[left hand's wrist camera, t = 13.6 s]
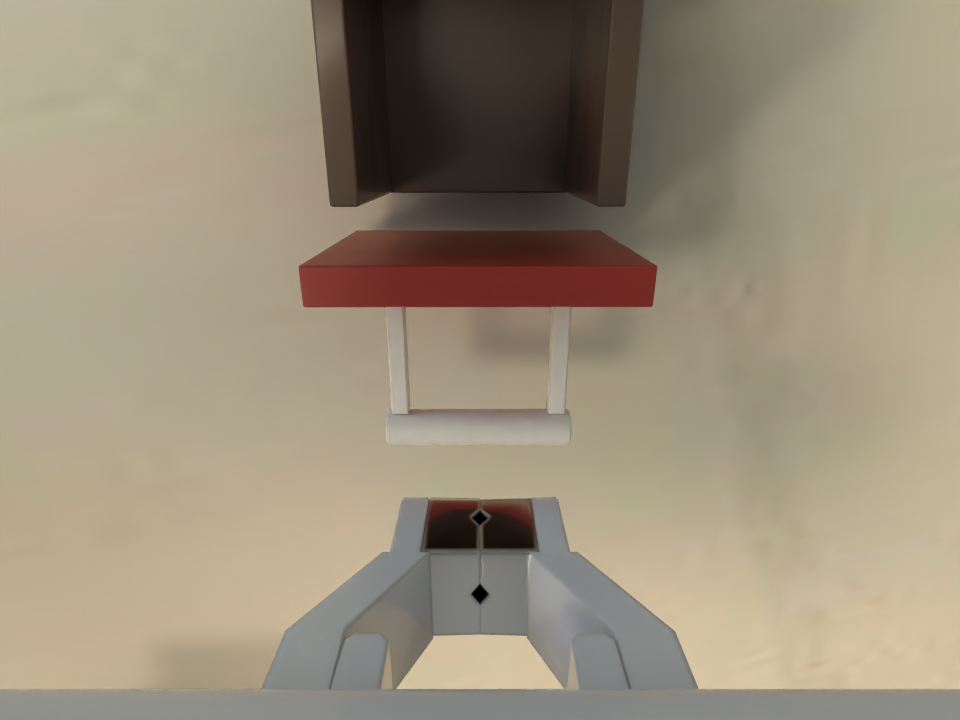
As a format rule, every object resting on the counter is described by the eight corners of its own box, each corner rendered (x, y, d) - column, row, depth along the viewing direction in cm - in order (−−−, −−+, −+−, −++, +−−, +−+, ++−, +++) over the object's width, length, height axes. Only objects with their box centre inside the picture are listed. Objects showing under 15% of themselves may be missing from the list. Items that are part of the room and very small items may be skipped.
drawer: (588, 386, 25) (633, 480, 18) (368, 386, 25) (323, 480, 18) (638, -271, 17) (755, -584, 10) (316, -271, 17) (196, -585, 10)
